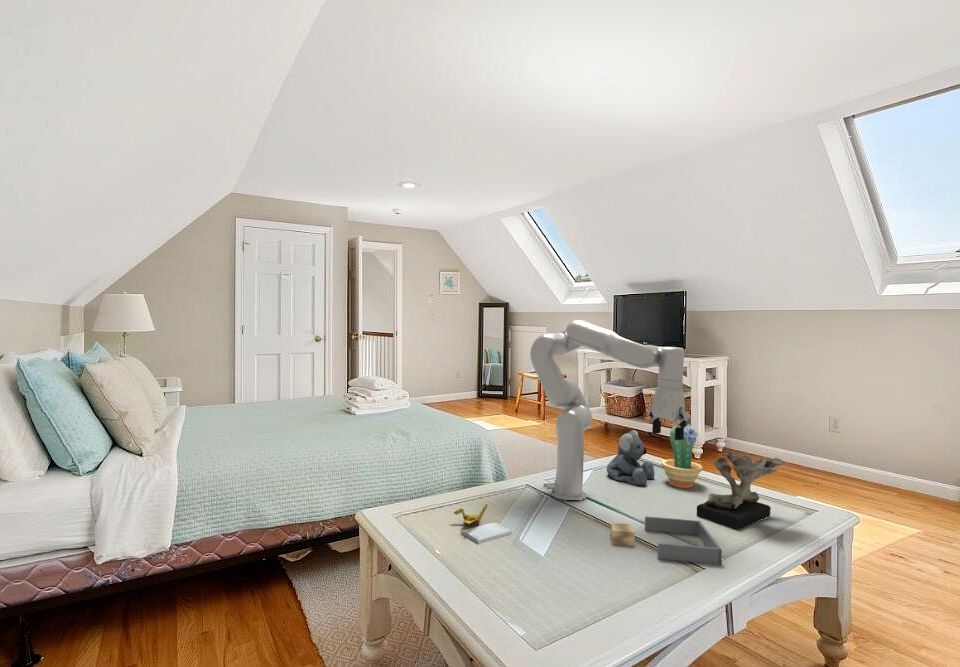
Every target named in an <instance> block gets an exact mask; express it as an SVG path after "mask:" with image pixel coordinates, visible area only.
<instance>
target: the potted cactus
mask: <svg viewBox="0 0 960 667" xmlns="http://www.w3.org/2000/svg"><path fill="white" fill-rule="evenodd" d="M679 423H680V421H679ZM674 424H675V423H674ZM676 427H677V426H676V424H675V425H673V427H672V428H671V430H670V432H669V434H670V435H669V438H670V444H671V447H672V452H673V459H671V458H670V459H664V460H662V461H661V462H660V463H661V467H662V468H663V469H664V473H665V476H666V477H667V479H668V480H669V481H668V484H669V485H671V486H672V487H673V486H674V487H677V488H681V489H682V488H683V489H690V488H689V487H691V488H693V487H694V482H695V481H696V480H697V479H698V477H699V474H700V473H701V472H702V471H703V465H701V464H700V463H697V462H694V461H692V454H693V451H692V450H693V448H694V446H695V443H696V442H697V437H698V433H697V432H696V430H695V429H694V428H693V427H692V426H691V424H690V423H689V424H688V425H686V427H685V428H684V439H683V440H675V428H676ZM692 486H693V487H692Z"/></svg>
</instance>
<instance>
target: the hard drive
mask: <svg viewBox="0 0 960 667" xmlns="http://www.w3.org/2000/svg"><path fill="white" fill-rule="evenodd" d="M512 532H513V531H512V530H511V529H509V528H507V527H506V526H503V525H502V524H500V523H497V522H495V521H494V522H490V523H487V524H485V523H484V524H482V525H479V526H478V525H477V526H474V527H470V528H468V529H462V530H460V534H461V535H462V536H464V537H466V538H468V539H469V540H471V541H472V542H474V543H476V544H478V545H479V544H482V543H486V542H490V541H492V540H495V539H499V538H502V537H505V536H510V535H512Z"/></svg>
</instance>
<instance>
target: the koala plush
mask: <svg viewBox="0 0 960 667" xmlns="http://www.w3.org/2000/svg"><path fill="white" fill-rule="evenodd" d="M617 445H618V446H617V454H616V455H615V456H614V457H613V459H612V460H610V462H609V463H608V464H607V466H606V472H607V474H608V476H610V478H612V479H613V480H615V481H618V482H619V481H620V482H624V483H625V482H626V483H628V484H630V485H634V486H641V487H642V486H644V485H646V484H647V483H648V480H651V479H654V478H655V467H654V465H653V462H652V461H647V460H646V461H644V462H642V464H640V462H639V461H638V460H639V459H641V458H642V457H643V455H646V454H647V451H648V450H647V447H645V445H644V443H643V441H642V439H641V438H640V437H639V434H638V432H637V430H631V431H629V432H626V433H624V434H622V436H620V437H619V439H618V443H617Z"/></svg>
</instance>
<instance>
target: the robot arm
mask: <svg viewBox="0 0 960 667" xmlns="http://www.w3.org/2000/svg"><path fill="white" fill-rule="evenodd" d="M581 347H584V348H586V349H589V350H592V351H596V352H598V353H601V354H603V355H605V356H607V357H610V358H612V359H615V360H617V361H620V362H623V363H625V364H628V365H630V366H633V367H636V368H640V369H648V368H655V367H658V378H657V380H656V383H657V386H656V387H655V390H654V395H653V399H652V405H649V406H648V407H647V410H648V412H649V416H650V418H651V422H652V427H651V428H652V430H651V433H652V434H661V432H662V421H661V419H662V420H665V421H670V422H674V424H676V426H677V427H676V428H675V440H683V439H684V428H685V427H686V425H688V424H690V422H691V421H690V420H691V418H692V415H691V414H690V413H688V412H687V411H686V409H685V408H686V406H685V405H686V402H685V400H686V399H685V393H684V389H683V384H684V383H683V381H684V379H683V378H684V364H685V363H684V362H685V352H684V349H683V348H681V347H677V346H658V345H652V344H642V343H639V342H635V341H633V340H630V339H628V338H627V339H626V338H624V337H622V336H620V335H618V333H616V332H615V331H613V330H610V329H607V328H605V327H601V326H599V325H595V324H593V323H592V322H590V321H588V320H582V319H575V320H573V321H570V322H569V323H568V324H567V325H566V328H565V329H564V330H561V331H559V332H555V333H552V332H550V333H549V332H548V333H544V334H541V335H539V336H538V337H537V338H536V339H535V340H534V342H532V344H531V348H530V354H529V355H530V360H531V361H530V362H531V364H532V367H533V368H534V370H535V373H536V375H537V377H538V379H539V382H540V384H541V387H542V389H543V391H544V393H545V395H546V398H547V400H548V402H549V403H550V404H551V405H552V406H553V407H557V408H562V409H563V410H562V411H561V412H560V413H559V414H558V415H557V418H556V423H555V429H556V437H557V438H556V440H557V443H556V444H557V445H556V446H557V447H556V468H555V469H556V474H555V475H556V476H555V480H554V481H552V482H549V481H544V482H543V483H542V484H543V488H546V490H551V492H550V494H551V496H553V497H554V498H556V499H558V498H559V500H561V499H564V500H563V501H566V500H580V499H584V500H585V499H587V496H588V495H587V494H588V493H586V491H585V490H583V485H584V483H583V481H584V454H585V452H584V449H585V445H584V444H585V442H584V435H583V434H584V432H585V431H587V429H589V428H590V426H592V424H593V414H592V412H591V409H590V407H589V405H588V403H587V401H586V399H585V396H584V394H583V392H582V391H581V388H580V387H579V385H578V384H577V383H576V382H575V381H573V380H571V379H566V378H565V377H564V375H563V373H562V370H561V368H560V366H559V365H558V364H557V362H556V361H555V360H554V357H556V356H563V355H565V354H567V353H570V352H572V351H575V350H576V349H579V348H581ZM679 421H680V423H679ZM580 501H581V500H580Z"/></svg>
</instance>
